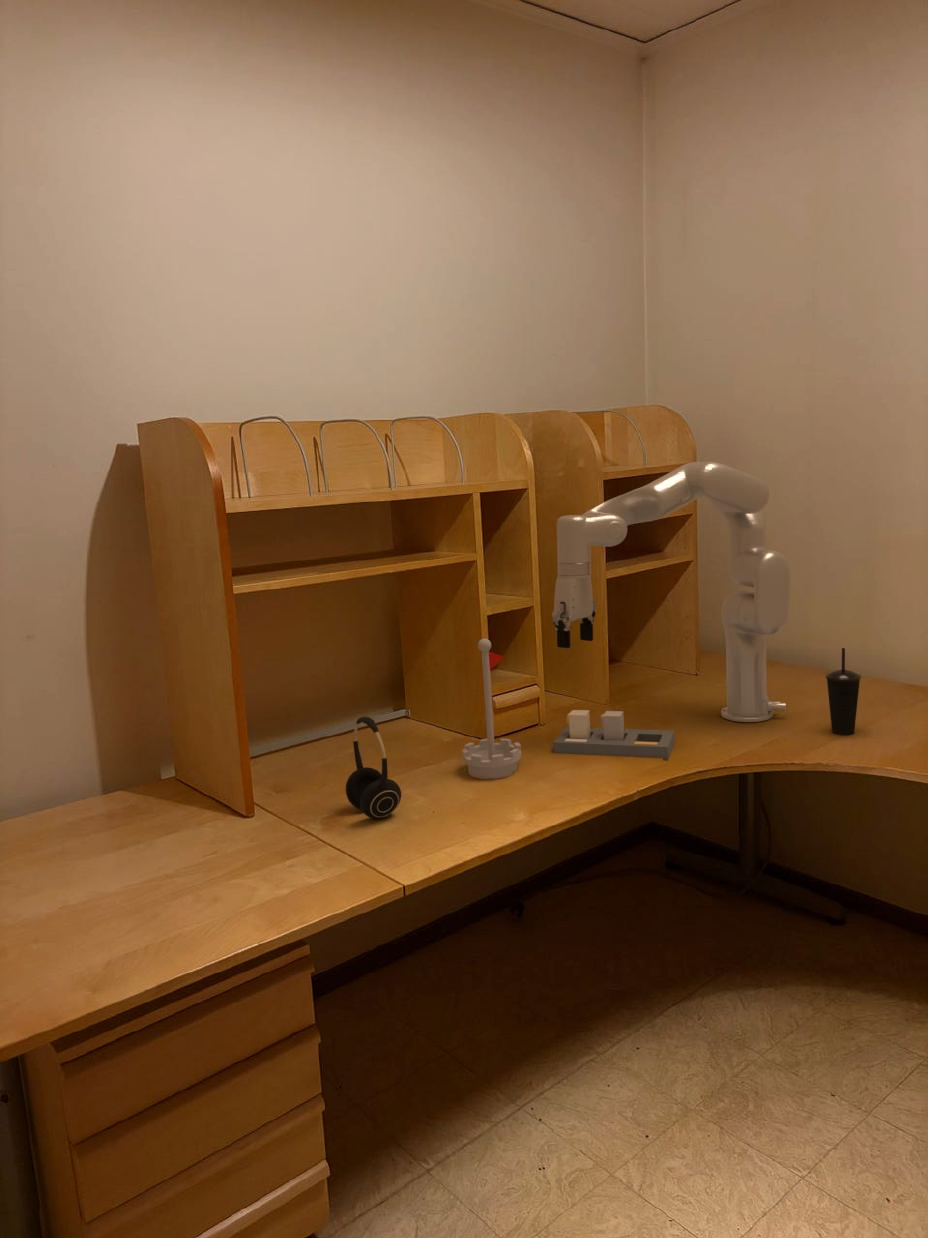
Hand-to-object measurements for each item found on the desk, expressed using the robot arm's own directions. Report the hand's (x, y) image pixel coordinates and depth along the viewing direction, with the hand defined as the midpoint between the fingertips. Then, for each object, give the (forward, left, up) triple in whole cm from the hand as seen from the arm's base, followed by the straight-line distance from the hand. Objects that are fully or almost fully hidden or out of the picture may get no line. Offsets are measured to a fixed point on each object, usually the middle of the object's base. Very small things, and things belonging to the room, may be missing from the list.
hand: (575, 643), depth 215 cm
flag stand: (+16, +18, -25) cm, 35 cm away
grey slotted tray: (-8, 0, -25) cm, 26 cm away
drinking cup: (-58, -19, -25) cm, 66 cm away
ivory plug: (0, 0, -25) cm, 25 cm away
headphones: (+32, +46, -25) cm, 61 cm away
